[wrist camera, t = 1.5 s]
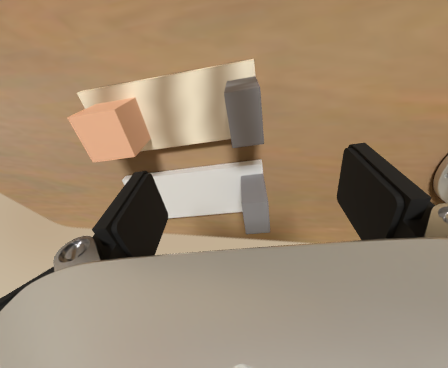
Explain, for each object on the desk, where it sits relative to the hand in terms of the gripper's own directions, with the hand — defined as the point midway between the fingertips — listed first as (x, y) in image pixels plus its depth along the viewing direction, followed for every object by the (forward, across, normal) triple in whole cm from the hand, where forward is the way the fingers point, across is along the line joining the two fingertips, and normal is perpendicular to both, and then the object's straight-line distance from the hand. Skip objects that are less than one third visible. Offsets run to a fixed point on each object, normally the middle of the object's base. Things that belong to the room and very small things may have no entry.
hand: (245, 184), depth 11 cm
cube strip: (+18, +8, 0) cm, 19 cm away
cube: (+16, +14, 0) cm, 22 cm away
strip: (+18, +8, +12) cm, 23 cm away
